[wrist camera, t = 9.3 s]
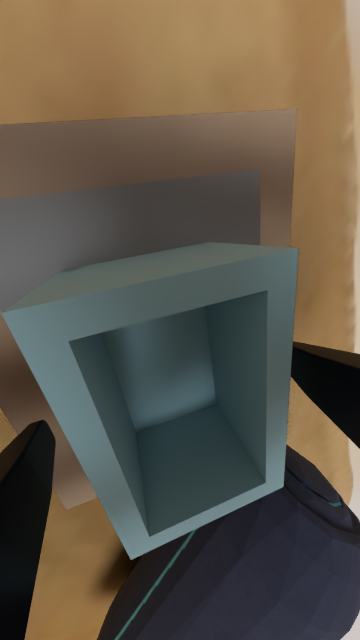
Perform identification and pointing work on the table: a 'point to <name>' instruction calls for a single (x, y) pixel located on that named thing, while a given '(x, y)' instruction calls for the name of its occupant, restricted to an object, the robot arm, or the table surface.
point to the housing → (168, 379)
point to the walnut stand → (128, 215)
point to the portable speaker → (251, 571)
